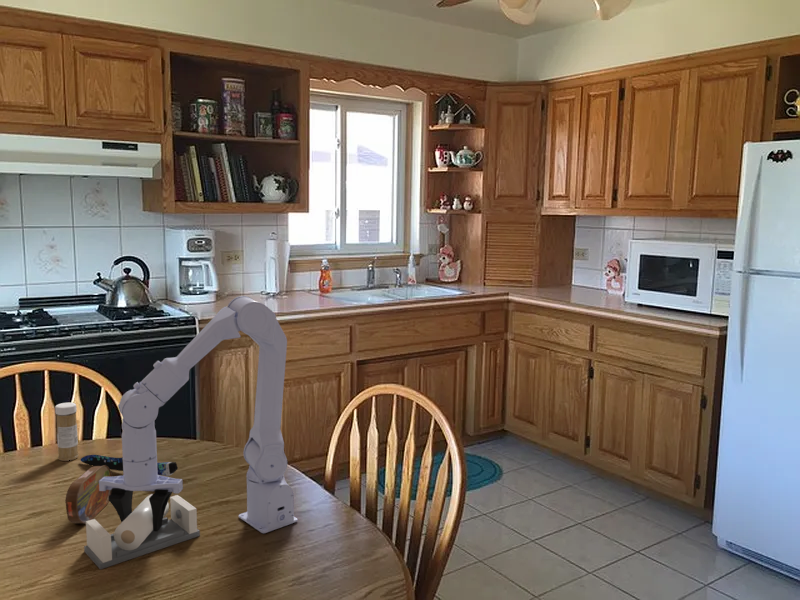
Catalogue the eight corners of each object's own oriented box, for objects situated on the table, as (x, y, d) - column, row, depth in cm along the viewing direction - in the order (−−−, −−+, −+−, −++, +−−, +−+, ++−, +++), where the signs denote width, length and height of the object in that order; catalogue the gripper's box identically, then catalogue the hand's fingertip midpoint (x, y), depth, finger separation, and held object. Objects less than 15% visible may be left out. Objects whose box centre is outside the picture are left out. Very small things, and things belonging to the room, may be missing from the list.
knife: (180, 480, 148) (178, 460, 148) (170, 485, 146) (168, 464, 145) (91, 467, 163) (89, 449, 163) (80, 471, 161) (78, 452, 160)
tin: (80, 531, 127) (77, 489, 126) (63, 531, 127) (61, 488, 126) (115, 497, 142) (113, 459, 141) (100, 497, 142) (98, 458, 141)
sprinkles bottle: (65, 454, 166) (62, 401, 164) (82, 455, 166) (80, 402, 164) (54, 461, 162) (50, 406, 160) (72, 462, 161) (69, 407, 159)
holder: (199, 535, 126) (199, 507, 125) (100, 569, 114) (98, 538, 113) (181, 520, 132) (180, 494, 131) (84, 551, 120) (82, 522, 119)
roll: (169, 519, 129) (168, 494, 128) (142, 551, 117) (141, 523, 116) (143, 518, 129) (143, 493, 128) (114, 550, 117) (113, 522, 116)
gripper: (187, 449, 124) (190, 519, 126) (110, 447, 125) (114, 516, 127) (173, 464, 117) (175, 537, 119) (91, 461, 118) (95, 534, 120)
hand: (142, 528), depth 123 cm, fingers closed on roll, 5 cm apart
